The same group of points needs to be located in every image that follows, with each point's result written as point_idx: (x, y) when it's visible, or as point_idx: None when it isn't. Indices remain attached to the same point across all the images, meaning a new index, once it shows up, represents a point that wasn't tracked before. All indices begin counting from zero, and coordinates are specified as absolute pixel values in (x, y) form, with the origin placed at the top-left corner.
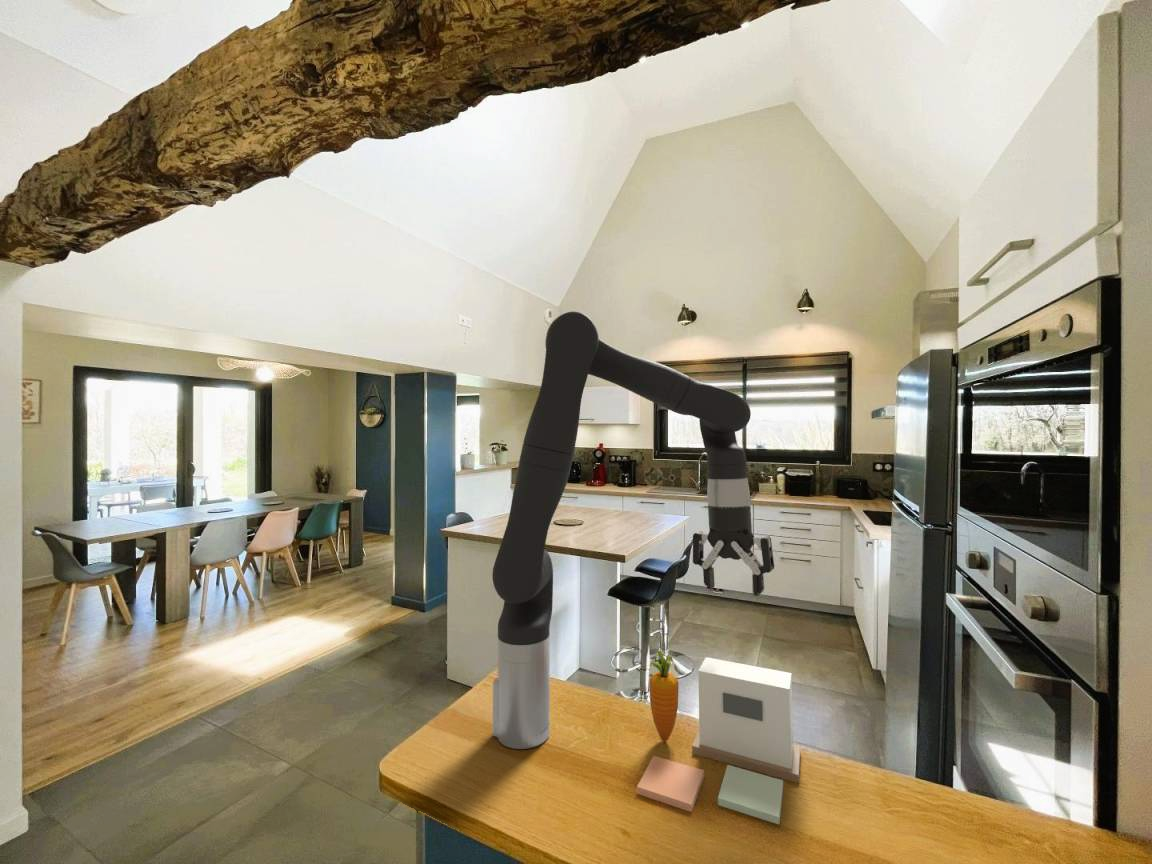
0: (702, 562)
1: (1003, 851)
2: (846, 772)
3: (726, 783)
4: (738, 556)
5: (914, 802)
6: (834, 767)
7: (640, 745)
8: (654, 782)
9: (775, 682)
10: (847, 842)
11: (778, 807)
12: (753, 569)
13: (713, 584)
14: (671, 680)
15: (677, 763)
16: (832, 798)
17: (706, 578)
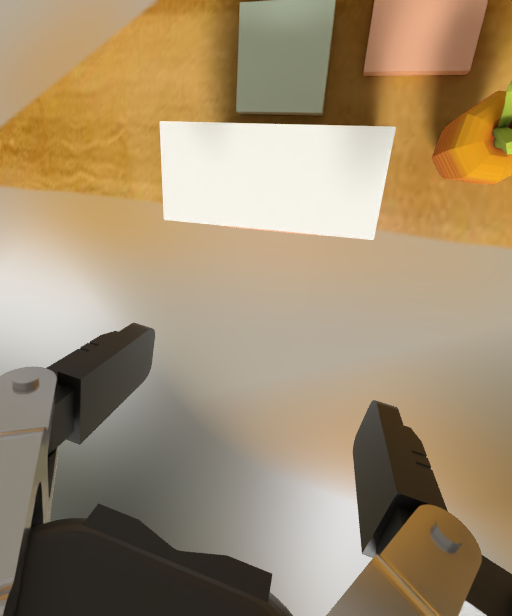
0: (479, 591)
1: (27, 110)
2: None
3: (322, 51)
4: (66, 535)
5: (96, 163)
6: None
7: None
8: None
9: (190, 145)
10: (161, 24)
11: (241, 29)
12: (34, 396)
13: (358, 445)
14: (477, 117)
15: (416, 68)
16: (178, 121)
17: (409, 446)
